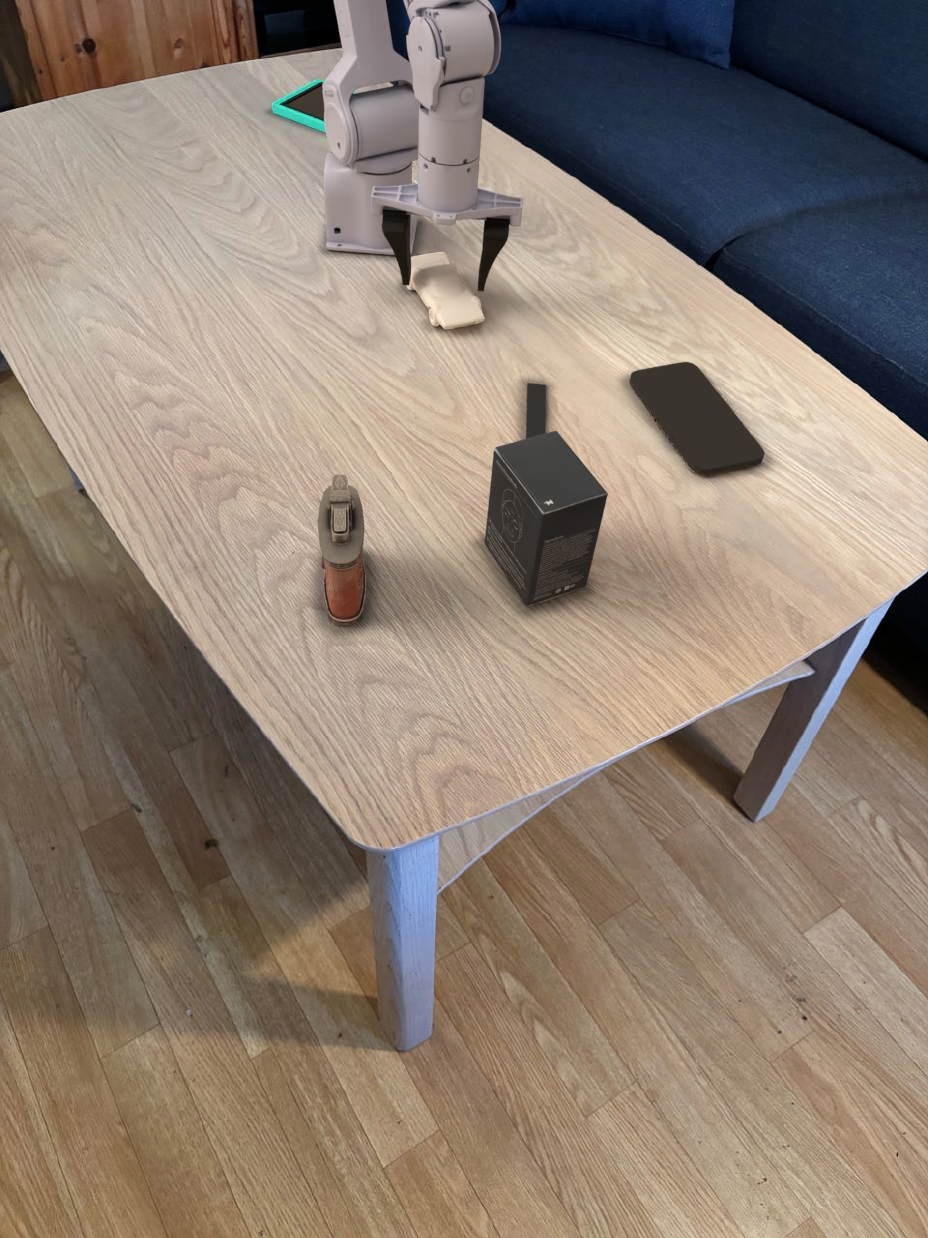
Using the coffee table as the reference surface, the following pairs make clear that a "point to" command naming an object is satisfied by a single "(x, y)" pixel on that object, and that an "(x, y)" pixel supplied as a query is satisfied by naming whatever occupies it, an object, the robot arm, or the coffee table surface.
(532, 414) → the tape line
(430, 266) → the toy car
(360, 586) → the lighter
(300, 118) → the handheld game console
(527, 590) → the box
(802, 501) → the coffee table surface
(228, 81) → the coffee table surface
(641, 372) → the phone
